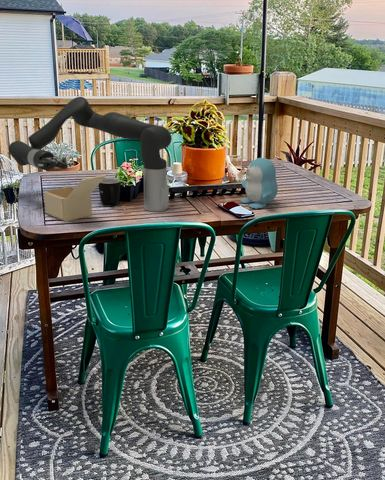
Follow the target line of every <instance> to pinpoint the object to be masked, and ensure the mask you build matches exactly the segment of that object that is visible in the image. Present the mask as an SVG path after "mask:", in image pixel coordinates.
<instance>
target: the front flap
mask: <svg viewBox="0 0 385 480" xmlns="http://www.w3.org/2000/svg"><path fill="white" fill-rule="evenodd" d="M106 176H107V174H102V175H96V176H91V177H86V178H82V179H80V180H79V182H78V183H77V185H76V186H74V187H75V188H74V190H73V191H72V192H71V194H70V195H69V196H68V198H67V199H72V198H76V197H81V196H85V195H90V194H91V195H92V193H93V192H94V191H95V189H96V188H97V187H99V183H100V182H101V181H102V180H103V179H105V178H106Z"/></svg>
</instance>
